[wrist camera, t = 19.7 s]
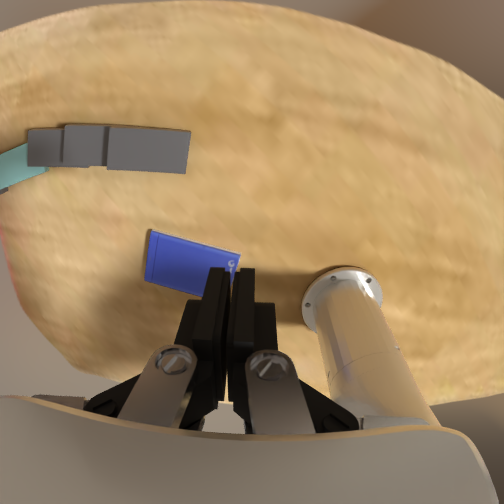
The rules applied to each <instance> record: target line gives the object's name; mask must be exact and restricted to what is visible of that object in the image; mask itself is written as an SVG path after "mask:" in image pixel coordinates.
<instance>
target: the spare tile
mask: <svg viewBox="0 0 504 504" xmlns="http://www.w3.org/2000/svg"><path fill="white" fill-rule="evenodd" d="M27 155H28V143H26V144H23V145H21V146H19V147H16V148H14V149H12V150H9V151H7V152H5V153H3V154H0V190H1V189H3V188H5V187H8V186H10V185H13V184H15V183H18V182H20V181H23V180H25V179H28V178H30V177H33V176H36V175H38V174H41V173H44V172H46V171H48V170H49V168H48V167H28V166H27Z"/></svg>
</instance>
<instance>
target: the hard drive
mask: <svg viewBox="0 0 504 504" xmlns="http://www.w3.org/2000/svg"><path fill="white" fill-rule="evenodd" d="M240 256H241V253H240V252H236V251H233V250H229V249H225V248H222V247H218V246H214V245H210V244H207V243H203V242H199V241H196V240H192V239H188V238H184V237H181V236H177V235H173V234H170V233H166V232H162V231H159V230H155V229H152V231H151V234H150V240H149V247H148V255H147V263H146V270H145V279H144V280H145V281H148V282H151V283H155V284H158V285H162V286H165V287H169V288H172V289H176V290H179V291H182V292H186V293H189V294H193V295H197V296H200V297H202V296H203V293H204V289H205V285H206V281H207V277H208V274H209V270H210V267H225V271H230V273H231V285H232V282H233V279H234V273H235V272H236V269H237V266H238V263H239V260H240Z"/></svg>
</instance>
